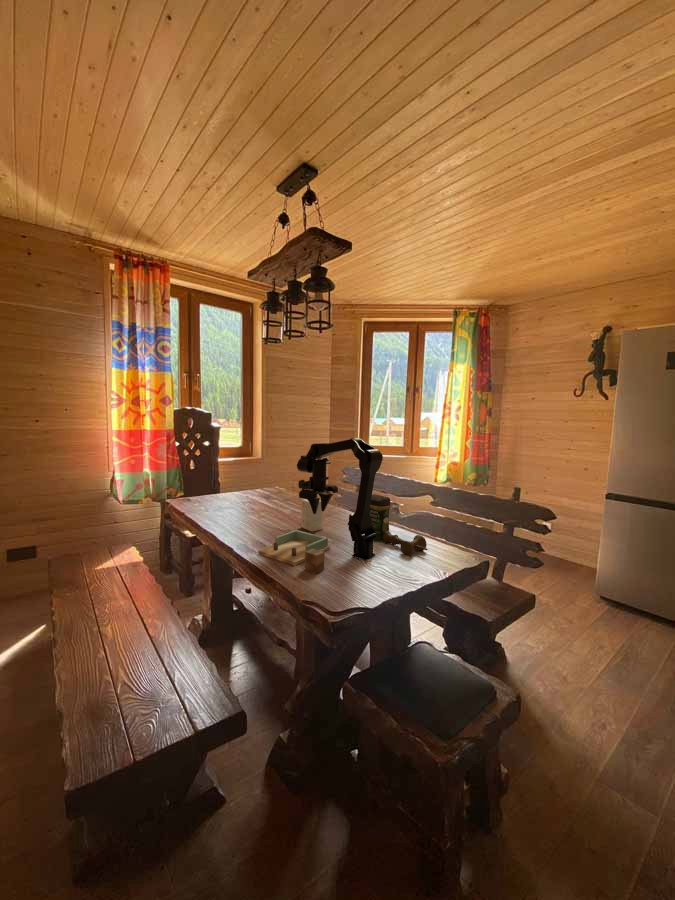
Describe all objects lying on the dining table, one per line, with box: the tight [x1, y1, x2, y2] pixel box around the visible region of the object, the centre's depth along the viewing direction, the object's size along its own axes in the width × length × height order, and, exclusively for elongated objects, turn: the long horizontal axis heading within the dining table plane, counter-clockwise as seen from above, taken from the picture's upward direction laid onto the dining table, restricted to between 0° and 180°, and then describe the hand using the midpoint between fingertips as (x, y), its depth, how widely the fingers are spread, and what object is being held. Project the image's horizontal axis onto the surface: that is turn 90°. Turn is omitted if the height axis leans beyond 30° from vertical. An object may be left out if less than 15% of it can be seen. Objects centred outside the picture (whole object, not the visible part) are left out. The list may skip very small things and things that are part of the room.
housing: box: [274, 529, 329, 551], centre depth 143 cm, size 16×12×3 cm
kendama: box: [382, 531, 428, 557], centre depth 144 cm, size 6×10×20 cm
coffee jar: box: [369, 493, 391, 543], centre depth 155 cm, size 10×8×19 cm
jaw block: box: [304, 549, 325, 574], centre depth 124 cm, size 5×4×6 cm
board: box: [258, 538, 331, 567], centre depth 140 cm, size 18×20×4 cm
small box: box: [301, 498, 324, 533], centre depth 168 cm, size 8×6×13 cm
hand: (318, 512), depth 151 cm, fingers open, 5 cm apart
